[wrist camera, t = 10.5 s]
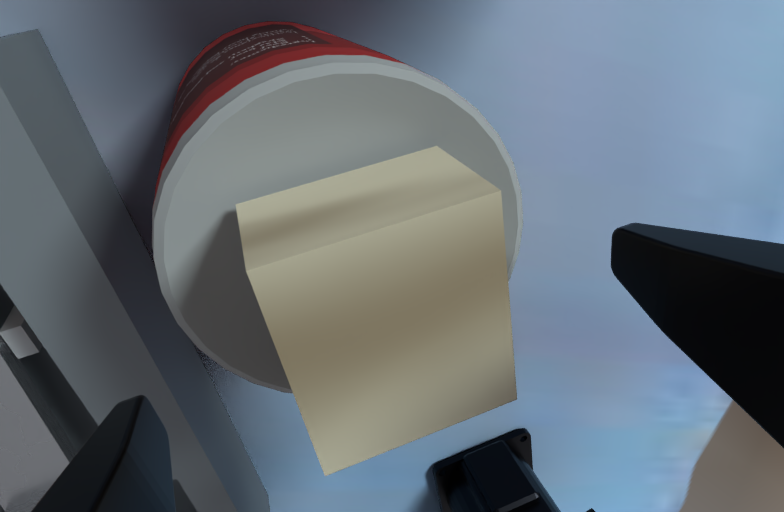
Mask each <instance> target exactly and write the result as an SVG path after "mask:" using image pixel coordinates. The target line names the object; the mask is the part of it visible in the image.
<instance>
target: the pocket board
mask: <svg viewBox="0 0 784 512" xmlns="http://www.w3.org/2000/svg"><path fill="white" fill-rule="evenodd" d="M0 329H1V330H0V335H1V336H2V338H3V339H4V340H5V342H6V343H7V345H8V346H9V347H10V349H11V350H12V351H13V353H14V354H15V355H16V357H17V358H18V359H20V361H21V363H22V364H23V366H24V368H25V369H26V371H27V372H28V374H29V376H30V377H31V379H32V380H33V382H34V384H35V385H36V387H37V388H38V390H39V392H40V393H41V395H42V396H43V398H44V400H45V401H46V403H47V404H48V406H49V408H50V409H51V411H52V413H53V414H54V416H55V417H56V419H57V421H58V422H59V424H60V425H61V427H62V429H63V430H64V432H65V433H66V435H67V437H68V438H69V440H70V441H71V443H72V445H73V446H74V448H75V450H76V451H77V453H78V452H79V450H80V449H81V448H82V447H83V445H84V444H85V443H86V441H87V440H88V439H89V438H90V436H91V435H92V434H93V433H94V431H95V430H96V429H97V428H98V426H99V425H100V424H101V423H102V421H103V420H104V419H105V418H106V416H107V415H108V414H109V412H110V411H111V410H112V409H113V407H114V406H115V405H116V404H117V403H119V402H121V401H124V400H127V399H129V398H132V397H135V396H138V395H143V396H145V397H147V398H148V400H149V401H150V403H151V404H152V406H153V408H154V409H155V411H156V413H157V415H158V416H159V418H160V420H161V421H162V423H163V425H164V426H165V428H166V431H167V434H168V438H169V446H170V456H171V467H172V478H173V488H174V499H175V509H176V512H270V506H269V499H268V494H267V492H266V490H265V488H264V486H263V484H262V482H261V480H260V478H259V476H258V474H257V472H256V470H255V468H254V466H253V464H252V462H251V460H250V458H249V456H248V454H247V452H246V450H245V448H244V446H243V444H242V442H241V440H240V438H239V436H238V434H237V432H236V430H235V427H234V425H233V423H232V421H231V419H230V417H229V415H228V413H227V411H226V409H225V407H224V405H223V403H222V401H221V399H220V397H219V395H218V393H217V391H216V389H215V387H214V385H213V383H212V381H211V379H210V377H209V375H208V373H207V371H206V369H205V367H204V365H203V363H202V361H201V359H200V357H199V355H198V353H197V350H196V348H195V346H194V344H193V342H192V340H191V339H190V338H189V337H188V335H187V334H186V333H185V332H184V331H183V330H182V328H181V327H180V326H179V325H178V324H177V322H176V320H175V318H174V316H173V314H172V312H171V310H170V308H169V306H168V304H167V302H166V300H165V298H164V296H163V294H162V292H161V288H160V284H159V279H158V275H157V271H156V267H155V265H154V263H153V261H152V259H151V257H150V255H149V253H148V251H147V249H146V247H145V245H144V243H143V241H142V239H141V237H140V235H139V233H138V231H137V229H136V227H135V225H134V223H133V221H132V219H131V217H130V215H129V213H128V211H127V209H126V207H125V205H124V203H123V201H122V199H121V196H120V194H119V192H118V190H117V188H116V186H115V184H114V182H113V180H112V178H111V176H110V174H109V172H108V170H107V168H106V166H105V164H104V162H103V160H102V158H101V156H100V154H99V152H98V150H97V148H96V146H95V144H94V142H93V140H92V138H91V136H90V134H89V132H88V130H87V128H86V126H85V124H84V122H83V119H82V117H81V115H80V113H79V111H78V109H77V107H76V105H75V103H74V101H73V99H72V97H71V95H70V93H69V91H68V89H67V87H66V85H65V83H64V81H63V79H62V77H61V75H60V73H59V71H58V69H57V67H56V65H55V63H54V61H53V59H52V57H51V55H50V53H49V51H48V49H47V47H46V45H45V42H44V40H43V38H42V36H41V34H40V32H39V30H38V29H36V30H31V31H27V32H22V33H17V34H13V35H8V36H4V37H0ZM4 511H5V510H4V509H3V508H2V506H1V505H0V512H4Z"/></svg>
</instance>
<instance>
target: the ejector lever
mask: <svg viewBox="0 0 784 512" xmlns="http://www.w3.org/2000/svg"><path fill="white" fill-rule="evenodd" d="M0 330H1V329H0ZM76 454H77V451H76V450H75V448H74V446H73V445H72V443H71V441H70V440H69V438H68V437H67V435H66V433H65V432H64V430H63V429H62V427H61V425H60V424H59V422H58V421H57V419H56V417H55V416H54V414H53V413H52V411H51V409H50V408H49V406H48V404H47V403H46V401H45V400H44V398H43V396H42V395H41V393H40V392H39V390H38V388H37V387H36V385H35V384H34V382H33V380H32V379H31V377H30V376H29V374H28V372H27V371H26V369H25V368H24V366H23V364H22V363H21V361H20V359H18V358H17V357H16V355H15V354H14V353H13V351H12V350H11V349H10V347H9V346H8V345H7V343H6V342H5V340H4V339H3V338H2V336H1V335H0V505H1V506H2V508H3V509H4V510H5V511H4V512H31V511H32V510H33V508H34V507H35V506H36V504H37V503H38V502H39V501H40V499H41V498H42V497H43V496H44V494H45V493H46V492H47V491H48V489H49V488H50V487H51V486H52V484H53V483H54V482H55V481H56V479H57V478H58V477H59V475H60V474H61V473H62V472H63V470H64V469H65V468H66V467H67V465H68V464H69V463H70V462H71V460H72V459H73V458H74V457H75V455H76Z"/></svg>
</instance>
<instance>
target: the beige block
mask: <svg viewBox="0 0 784 512" xmlns="http://www.w3.org/2000/svg"><path fill="white" fill-rule="evenodd" d="M236 211H237V217H238V223H239V230H240V236H241V242H242V249H243V255H244V261H245V268H246V272H247V275H248V277H249V280H250V283H251V285H252V288H253V290H254V293H255V296H256V298H257V301H258V303H259V306H260V309H261V311H262V314H263V316H264V319H265V322H266V324H267V327H268V329H269V332H270V334H271V337H272V340H273V342H274V345H275V347H276V350H277V353H278V355H279V358H280V360H281V363H282V366H283V368H284V371H285V373H286V376H287V379H288V381H289V384H290V386H291V389H292V392H293V394H294V397H295V399H296V402H297V405H298V407H299V410H300V412H301V415H302V417H303V420H304V423H305V425H306V428H307V430H308V433H309V436H310V438H311V441H312V443H313V446H314V449H315V451H316V454H317V456H318V459H319V462H320V464H321V467H322V469H323V472H324V475H325V476H327V475H329V474H332V473H334V472H337V471H339V470H342V469H344V468H347V467H349V466H352V465H354V464H357V463H359V462H362V461H364V460H367V459H369V458H372V457H374V456H377V455H379V454H382V453H384V452H387V451H389V450H392V449H394V448H397V447H399V446H402V445H404V444H407V443H409V442H412V441H414V440H417V439H419V438H422V437H424V436H427V435H429V434H432V433H434V432H437V431H439V430H442V429H444V428H447V427H449V426H452V425H454V424H457V423H459V422H462V421H464V420H467V419H469V418H472V417H474V416H477V415H479V414H482V413H484V412H487V411H489V410H492V409H494V408H497V407H499V406H502V405H504V404H507V403H509V402H512V401H514V400H517V392H516V379H515V366H514V353H513V340H512V326H511V313H510V300H509V287H508V274H507V261H506V248H505V235H504V222H503V209H502V196H501V190H500V189H498V188H497V187H495V186H494V185H492V184H491V183H490V182H488V181H487V180H485V179H484V178H482V177H481V176H480V175H478V174H477V173H475V172H474V171H472V170H471V169H469V168H468V167H467V166H465V165H464V164H462V163H461V162H459V161H458V160H456V159H455V158H454V157H452V156H451V155H449V154H448V153H446V152H445V151H444V150H442V149H441V148H439V147H438V146H434V147H431V148H428V149H424V150H421V151H417V152H414V153H410V154H407V155H404V156H400V157H397V158H393V159H390V160H386V161H383V162H379V163H376V164H373V165H369V166H366V167H362V168H359V169H355V170H352V171H349V172H345V173H342V174H338V175H335V176H331V177H328V178H324V179H321V180H318V181H314V182H311V183H307V184H304V185H300V186H297V187H294V188H290V189H287V190H283V191H280V192H276V193H273V194H269V195H266V196H263V197H259V198H256V199H252V200H249V201H245V202H242V203H239V204H236Z"/></svg>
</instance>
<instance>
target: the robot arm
mask: <svg viewBox="0 0 784 512" xmlns="http://www.w3.org/2000/svg"><path fill="white" fill-rule="evenodd" d="M611 268H612V271H613V273H614V275H615V277H616V278H617V279H618V280H619V281H620V283H621V284H622V285H623V286H624V287H625V289H626V290H627V291H628V292H629V293H630V294H631V296H632V297H633V298H634V299H635V300H636V301H637V303H638V304H639V305H640V306H641V307H642V309H643V310H644V311H645V312H646V313H647V314H648V316H649V317H650V318H651V319H652V320H653V321H654V323H655V324H656V325H657V326H658V327H659V328H660V329H661V330H662V331H663V332H664V334H665V335H666V336H667V337H668V338H669V339H670V340H671V341H672V342H674V343H675V344H676V345H677V346H678V347H679V348H680V349H681V350H682V351H683V352H684V353H685V354H686V355H687V356H688V357H689V358H690V359H691V360H692V361H693V362H694V363H695V364H696V365H698V366H699V367H700V368H701V369H702V370H703V371H704V372H705V373H706V374H707V375H708V376H709V377H710V378H711V379H712V380H713V381H714V382H715V383H716V384H717V385H718V386H719V387H720V388H721V389H723V390H724V391H725V392H726V393H727V394H728V395H729V396H730V397H731V398H732V399H733V400H734V401H735V402H736V403H737V404H738V405H739V406H740V407H741V408H742V409H743V410H744V411H746V413H748V414H749V415H750V416H751V417H752V418H753V419H754V420H755V421H756V422H757V423H758V424H759V425H760V426H761V427H762V428H763V429H764V430H765V431H766V432H767V433H768V434H770V436H771V437H773V438H774V439H775V440H776V441H777V442H778V443H779V444H780V445H781V446H782V447H783V448H784V244H780V243H773V242H766V241H759V240H752V239H745V238H738V237H731V236H724V235H717V234H710V233H703V232H696V231H689V230H682V229H675V228H668V227H662V226H655V225H648V224H641V223H631V224H628V225H625V226H622V227H619V228H617V229H616V230H614V232H613V234H612V246H611ZM433 474H434V479H435V483H436V488H437V493H438V497H439V502H440V506H441V511H442V512H561V511H560V510H559V508H558V507H557V506H556V504H555V503H554V501H553V500H552V498H551V497H550V495H549V494H548V492H547V491H546V489H545V488H544V486H543V485H542V483H541V482H540V481H539V479H538V478H537V476H536V475H535V473H534V472H533V465H532V449H531V435H530V433H529V432H528V431H527V429H525V428H522V429H519V430H516V431H514V432H511V433H509V434H507V435H504V436H502V437H499V438H497V439H495V440H492V441H490V442H487V443H485V444H482V445H480V446H478V447H475V448H473V449H470V450H468V451H466V452H463V453H461V454H458V455H456V456H454V457H451V458H449V459H446V460H444V461H442V462H439V463H437V464H436V465H435V466H434V468H433ZM31 512H176V509H175V499H174V488H173V478H172V467H171V456H170V446H169V438H168V434H167V431H166V428H165V426H164V425H163V423H162V421H161V420H160V418H159V416H158V415H157V413H156V411H155V409H154V408H153V406H152V404H151V403H150V401H149V400H148V398H147V397H145V396H143V395H138V396H135V397H132V398H129V399H127V400H124V401H121V402H119V403H117V404H116V405H115V406H114V407H113V409H112V410H111V411H110V412H109V414H108V415H107V416H106V418H105V419H104V420H103V421H102V423H101V424H100V425H99V426H98V428H97V429H96V430H95V431H94V433H93V434H92V435H91V436H90V438H89V439H88V440H87V441H86V443H85V444H84V445H83V447H82V448H81V449H80V450H79V452H78V453H77V454H76V455H75V457H74V458H73V459H72V460H71V462H70V463H69V464H68V465H67V467H66V468H65V469H64V470H63V472H62V473H61V474H60V475H59V477H58V478H57V479H56V481H55V482H54V483H53V484H52V486H51V487H50V488H49V489H48V491H47V492H46V493H45V494H44V496H43V497H42V498H41V499H40V501H39V502H38V503H37V504H36V506H35V507H34V508H33V510H32V511H31ZM586 512H595V511H594V510H593V509H592V508H591V509H589V510H588V511H586Z"/></svg>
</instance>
